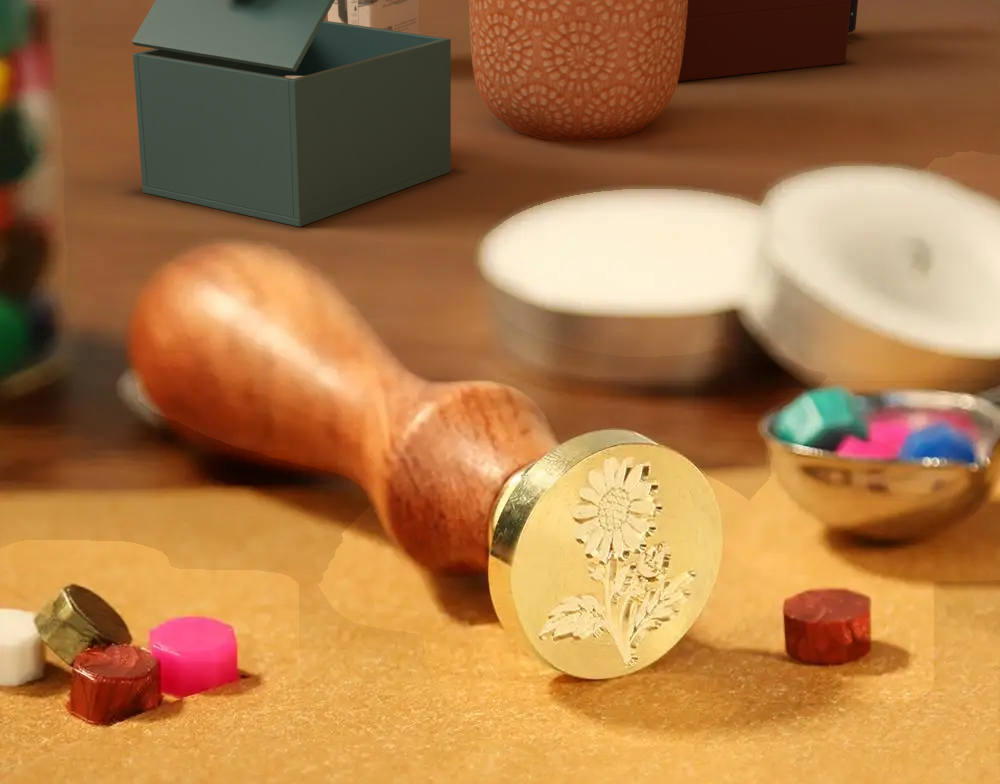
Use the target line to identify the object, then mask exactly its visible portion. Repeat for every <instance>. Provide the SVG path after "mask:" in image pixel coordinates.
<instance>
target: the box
mask: <svg viewBox="0 0 1000 784" xmlns="http://www.w3.org/2000/svg"><path fill="white" fill-rule="evenodd" d="M850 8H851V0H688V11H687V23H686V33H685V42H684V51H683V59H682V64H681V69H680V74H679V79H678V83H679V82H687V81H695V80H696V81H697V80H704V79H705V80H706V79H714V78H722V77H724V78H725V77H732V76H741V75H742V76H743V75H751V74H759V73H771V72H778V71H787V70H797V69H805V68H806V69H807V68H814V67H825V66H833V65H843V64H846V62H847V52H848V51H847V49H848V41H849V39H848V38H849V35H848V30H849V19H850Z"/></svg>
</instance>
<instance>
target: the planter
mask: <svg viewBox="0 0 1000 784" xmlns="http://www.w3.org/2000/svg"><path fill="white" fill-rule="evenodd" d="M687 11H688V0H468V24H469V25H468V26H469V43H470V45H469V46H470V57H471V65H472V71H473V77H474V83H475V86H476V89H477V92H478V94H479V96H480V98H481V100H482V102H483V103H484V104H485V105H486V107H487V109H488V110H489V111H491V113H492V114H493V115H494V116H495V117H496V118H498V120H500V121H501V122H502V123H503V124H505V125H506V126H508V127H509V128H511V129H512V130H514V131H516V132H519V133H521V134H525V135H528V136H532V137H536V138H541V139H548V140H556V141H571V142H572V141H573V142H574V141H575V142H578V141H581V142H582V141H583V142H584V141H588V142H589V141H602V140H609V139H616V138H620V137H625V136H628V135H632V134H634V133H637V132H638V131H640V130H641V129H643V128H645V127H646V126H648V125H649V124H650V123H651V122H652V121H654V120H655V119H656V118H657V117H658V116H659V115H660V114H661V113H663V111H664V110H665V109H666V108H667V106H668V105H669V104H670V102H671V100H672V98H673V97H674V94H675V92H676V89H677V86H678V83H679V82H678V79H679V74H680V69H681V64H682V59H683V51H684V42H685V33H686V23H687Z"/></svg>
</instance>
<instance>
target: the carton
mask: <svg viewBox="0 0 1000 784" xmlns="http://www.w3.org/2000/svg"><path fill="white" fill-rule="evenodd" d="M451 43H452V40H451V38H448V37H442V36H441V37H440V36H434V35H427V34H421V33H420V34H414V33H407V32H400V31H393V30H386V29H380V28H373V27H366V26H359V25H352V24H345V23H338V22H332V21H328V20H325V19H324V21H323V23H322V25H321V27H320V28H319V30H318V32H317V34H316V36H315V37H314V39H313V41H312V43H311V45H310V47H309V48H308V50H307V52H306V54H305V56H304V57H303V59H302V61H301V63H300V65H299V67H298V68H297V70H296V72H293V71H287V70H281V69H275V68H269V67H263V66H257V65H251V64H245V63H239V62H233V61H226V60H220V59H214V58H208V57H202V56H196V55H190V54H184V53H178V52H172V51H166V50H160V49H154V48H150V49H146V50H143V51H138V52H135V53H132V62H133V63H132V64H133V77H134V92H135V104H136V105H135V107H136V117H137V131H138V133H137V134H138V146H139V159H140V172H141V185H142V193H143V194H148V195H153V196H157V197H161V198H166V199H170V200H175V201H180V202H185V203H190V204H193V205H199V206H203V207H208V208H211V209H216V210H222V211H225V212H230V213H235V214H238V215H243V216H247V217H253V218H257V219H262V220H266V221H271V222H275V223H280V224H285V225H289V226H294V227H299V228H301V227H304V226H307V225H310V224H312V223H314V222H315V223H316V222H317V221H318V222H319V221H320V220H322V219H325V218H329V217H331V216H334V215H337V214H340V213H342V212H345V211H347V210H350V209H353V208H356V207H358V206H362V205H364V204H367V203H370V202H372V201H374V200H378V199H382V198H384V197H386V196H388V195H391V194H394V193H396V192H399V191H402V190H405V189H408V188H410V187H413V186H416V185H419V184H421V183H424V182H427V181H429V180H432V179H435V178H438V177H441V176H444V175H446V174H449V173H451V171H452V164H451V162H452V155H451V154H452V150H451V149H452V148H451V147H452V144H451V143H452V140H451V139H452V136H451V135H452V133H451V132H452V131H451V129H452V128H451V127H452V122H451V121H452V120H451V119H452V116H451V115H452V109H451V108H452V102H451V101H452V96H451V95H452V91H451V90H452V79H451V77H452V75H451V74H452V69H451V68H452V62H451V60H452V59H451V58H452V51H451V49H452V47H451V46H452V44H451ZM282 76H302V77H299V78H295V79H292V78H286V77H282Z"/></svg>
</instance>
